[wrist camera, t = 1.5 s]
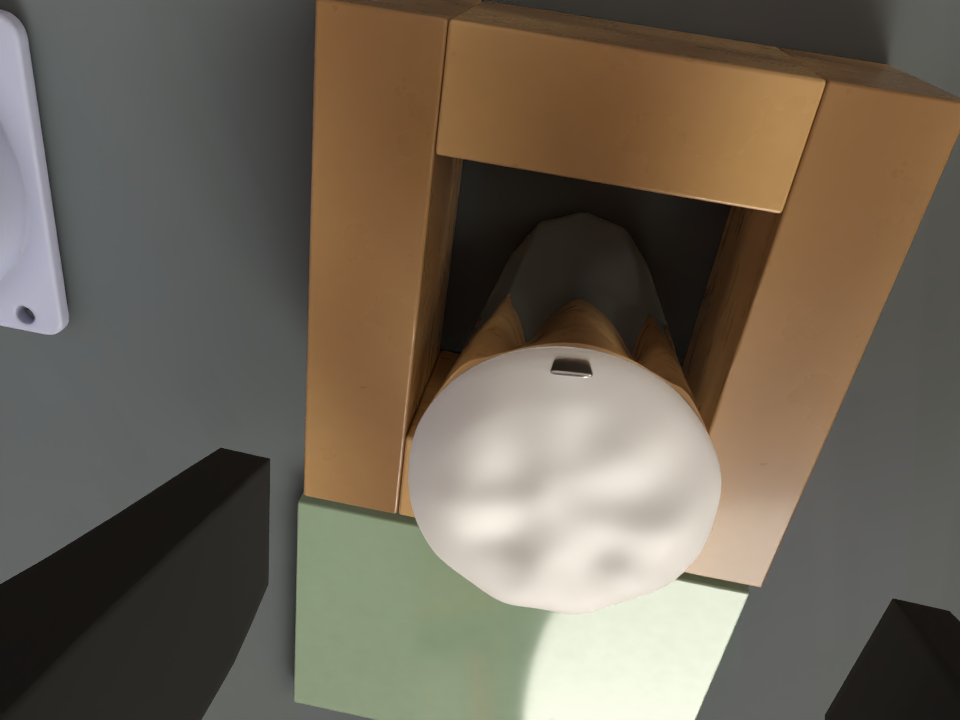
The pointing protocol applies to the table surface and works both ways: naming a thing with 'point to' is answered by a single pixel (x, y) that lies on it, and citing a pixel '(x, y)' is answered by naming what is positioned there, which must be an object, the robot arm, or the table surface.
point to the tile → (486, 635)
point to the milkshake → (567, 433)
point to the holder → (621, 162)
